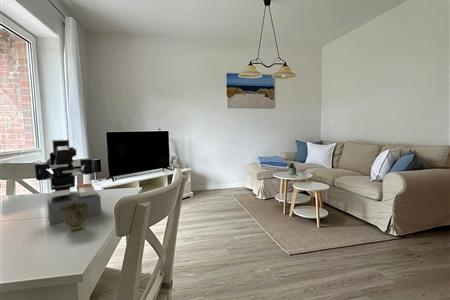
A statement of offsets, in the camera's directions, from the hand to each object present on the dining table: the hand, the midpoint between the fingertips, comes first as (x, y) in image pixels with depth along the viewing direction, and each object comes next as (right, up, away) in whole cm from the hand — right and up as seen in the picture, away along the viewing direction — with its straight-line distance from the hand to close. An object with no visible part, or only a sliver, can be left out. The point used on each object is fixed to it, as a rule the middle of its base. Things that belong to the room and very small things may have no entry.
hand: (68, 173), depth 90 cm
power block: (0, -16, +3) cm, 16 cm away
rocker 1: (-2, -8, -1) cm, 8 cm away
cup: (+10, -17, -11) cm, 23 cm away
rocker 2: (+4, -7, +4) cm, 9 cm away
